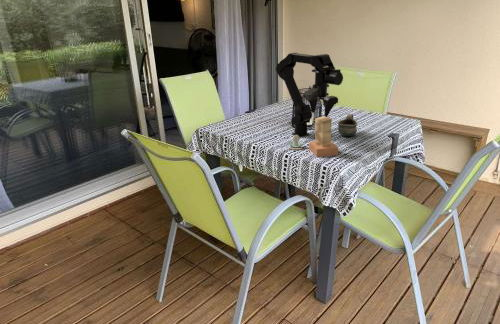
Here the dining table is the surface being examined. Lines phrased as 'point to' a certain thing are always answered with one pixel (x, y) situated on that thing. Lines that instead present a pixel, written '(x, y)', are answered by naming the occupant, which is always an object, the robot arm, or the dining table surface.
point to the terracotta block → (323, 149)
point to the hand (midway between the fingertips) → (319, 114)
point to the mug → (347, 126)
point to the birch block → (323, 131)
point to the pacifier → (295, 143)
